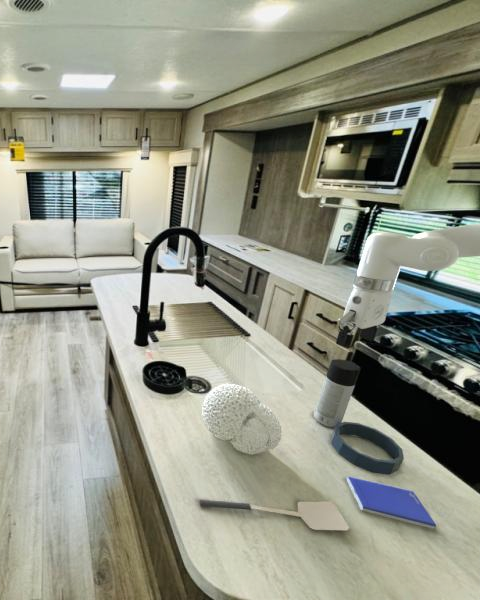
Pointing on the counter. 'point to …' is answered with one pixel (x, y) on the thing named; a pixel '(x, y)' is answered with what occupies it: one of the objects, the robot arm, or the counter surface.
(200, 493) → the counter surface
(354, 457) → the faceted blue ring
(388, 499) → the hard drive
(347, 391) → the spray can
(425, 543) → the counter surface
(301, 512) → the spatula
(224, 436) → the white textured rounded lump
